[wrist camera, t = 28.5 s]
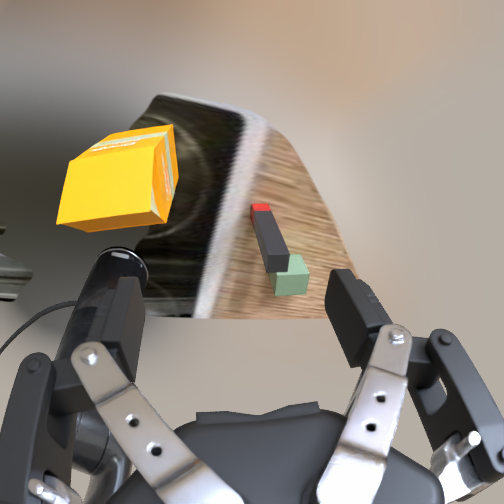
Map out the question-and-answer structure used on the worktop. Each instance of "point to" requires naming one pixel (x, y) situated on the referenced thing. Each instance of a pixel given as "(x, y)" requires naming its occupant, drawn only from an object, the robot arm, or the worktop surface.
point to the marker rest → (291, 278)
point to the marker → (269, 239)
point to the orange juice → (121, 181)
